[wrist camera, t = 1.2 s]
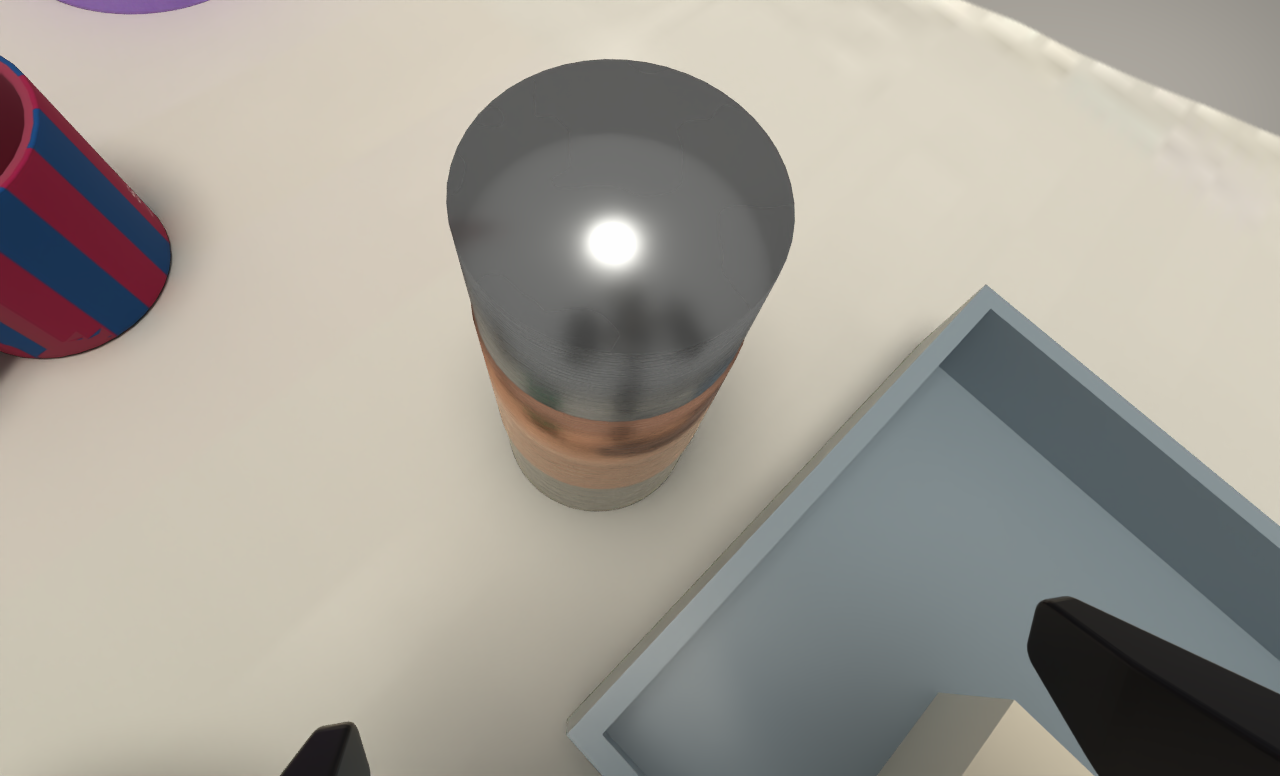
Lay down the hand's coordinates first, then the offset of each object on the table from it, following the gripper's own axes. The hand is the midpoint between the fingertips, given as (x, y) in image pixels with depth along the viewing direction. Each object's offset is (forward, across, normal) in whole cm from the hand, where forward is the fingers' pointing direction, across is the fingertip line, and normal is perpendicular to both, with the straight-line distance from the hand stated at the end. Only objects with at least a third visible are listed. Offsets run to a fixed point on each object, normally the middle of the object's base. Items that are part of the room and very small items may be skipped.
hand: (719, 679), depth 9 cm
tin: (+15, 0, +4) cm, 16 cm away
